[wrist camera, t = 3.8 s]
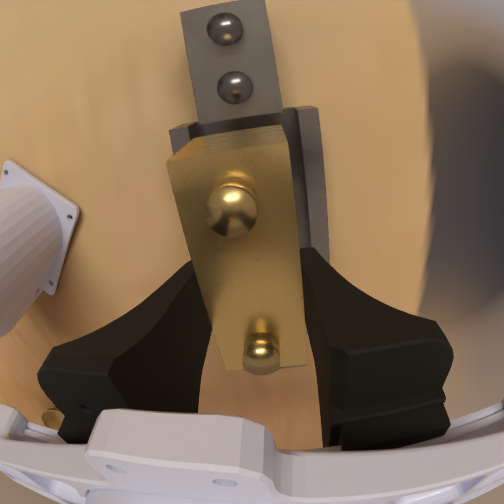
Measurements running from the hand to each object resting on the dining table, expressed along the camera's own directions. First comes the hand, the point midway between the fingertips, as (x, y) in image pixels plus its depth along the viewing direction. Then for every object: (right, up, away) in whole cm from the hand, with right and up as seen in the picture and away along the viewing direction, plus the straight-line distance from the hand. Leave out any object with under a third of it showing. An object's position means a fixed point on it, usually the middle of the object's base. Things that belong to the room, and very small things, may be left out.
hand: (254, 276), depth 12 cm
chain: (0, +4, +7) cm, 8 cm away
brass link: (0, +2, +2) cm, 3 cm away
